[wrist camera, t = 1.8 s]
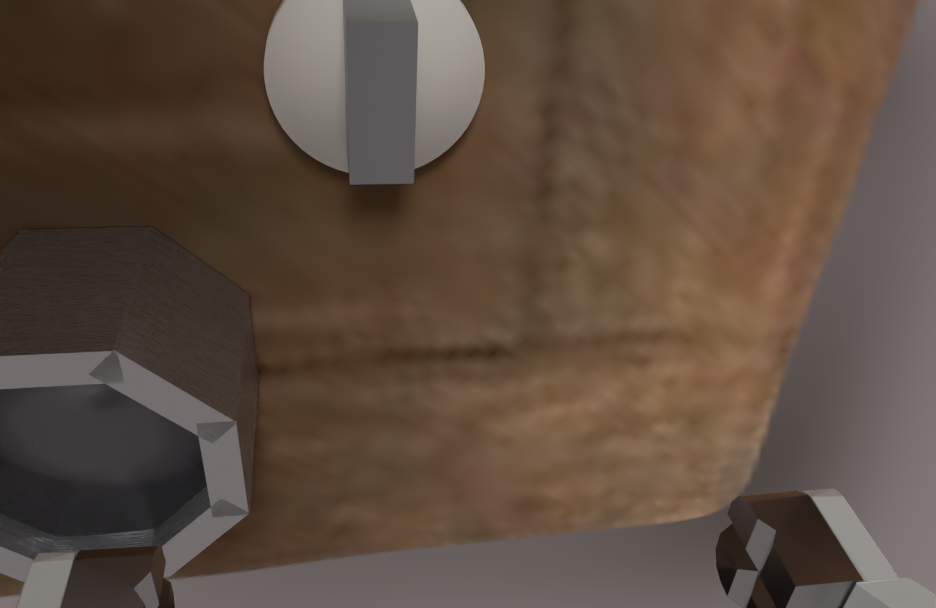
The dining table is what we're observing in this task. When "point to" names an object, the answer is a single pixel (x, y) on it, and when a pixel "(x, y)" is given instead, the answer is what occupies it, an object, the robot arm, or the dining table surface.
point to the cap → (374, 82)
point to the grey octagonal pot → (121, 396)
